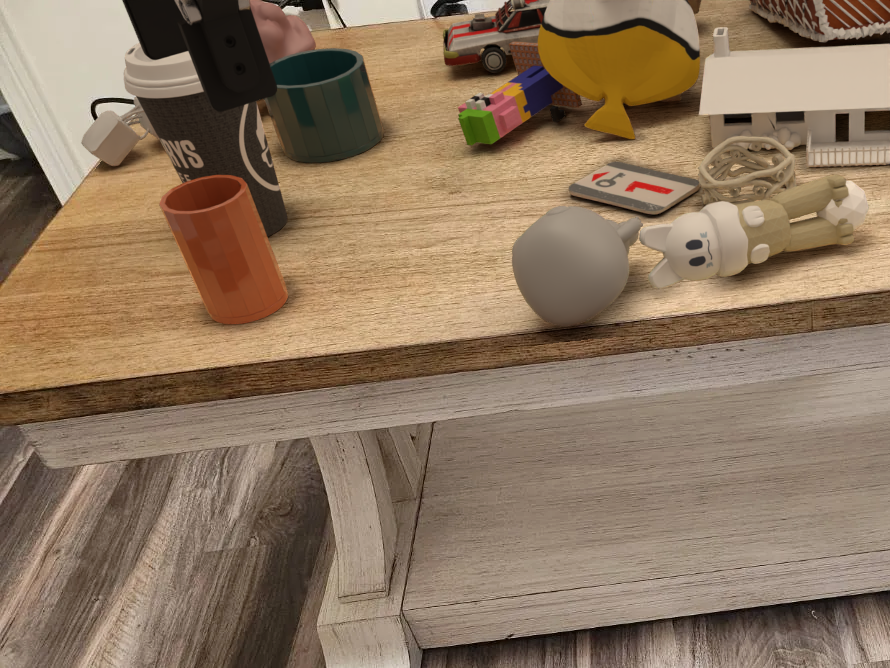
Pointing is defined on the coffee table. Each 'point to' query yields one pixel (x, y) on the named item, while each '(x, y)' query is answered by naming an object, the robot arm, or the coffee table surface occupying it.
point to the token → (634, 187)
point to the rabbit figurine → (754, 230)
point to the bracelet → (745, 171)
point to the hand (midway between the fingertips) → (210, 75)
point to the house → (800, 98)
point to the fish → (620, 53)
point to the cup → (225, 248)
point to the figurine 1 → (280, 31)
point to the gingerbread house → (827, 17)
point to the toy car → (493, 34)
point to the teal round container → (324, 105)
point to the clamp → (116, 134)
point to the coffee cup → (205, 130)
